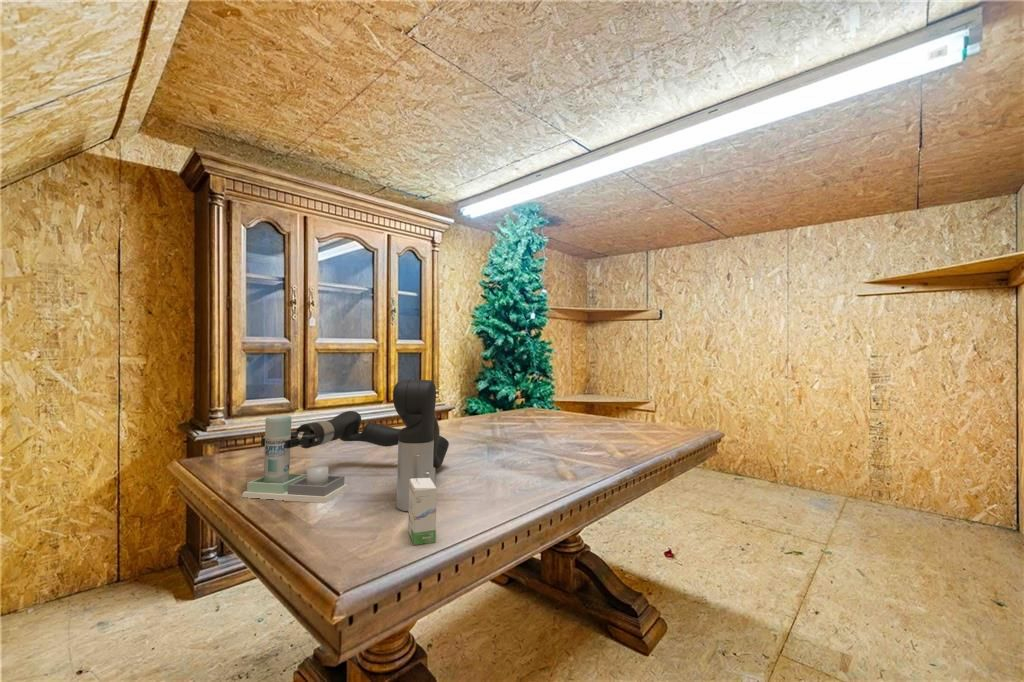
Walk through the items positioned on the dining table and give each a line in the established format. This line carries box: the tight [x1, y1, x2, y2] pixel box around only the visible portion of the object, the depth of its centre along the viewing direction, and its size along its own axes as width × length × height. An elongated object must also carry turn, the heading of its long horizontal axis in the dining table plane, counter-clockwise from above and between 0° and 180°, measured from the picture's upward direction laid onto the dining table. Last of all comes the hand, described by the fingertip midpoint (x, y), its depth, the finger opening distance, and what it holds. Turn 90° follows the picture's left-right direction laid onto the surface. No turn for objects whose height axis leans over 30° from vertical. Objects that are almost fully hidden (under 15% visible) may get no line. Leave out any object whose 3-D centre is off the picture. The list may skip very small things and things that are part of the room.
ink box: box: [407, 478, 438, 546], centre depth 95 cm, size 8×5×12 cm, turn 21°
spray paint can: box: [263, 414, 292, 484], centre depth 122 cm, size 6×6×20 cm
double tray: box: [242, 465, 349, 504], centre depth 122 cm, size 24×12×8 cm, turn 83°
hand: (273, 443), depth 121 cm, fingers open, 8 cm apart
